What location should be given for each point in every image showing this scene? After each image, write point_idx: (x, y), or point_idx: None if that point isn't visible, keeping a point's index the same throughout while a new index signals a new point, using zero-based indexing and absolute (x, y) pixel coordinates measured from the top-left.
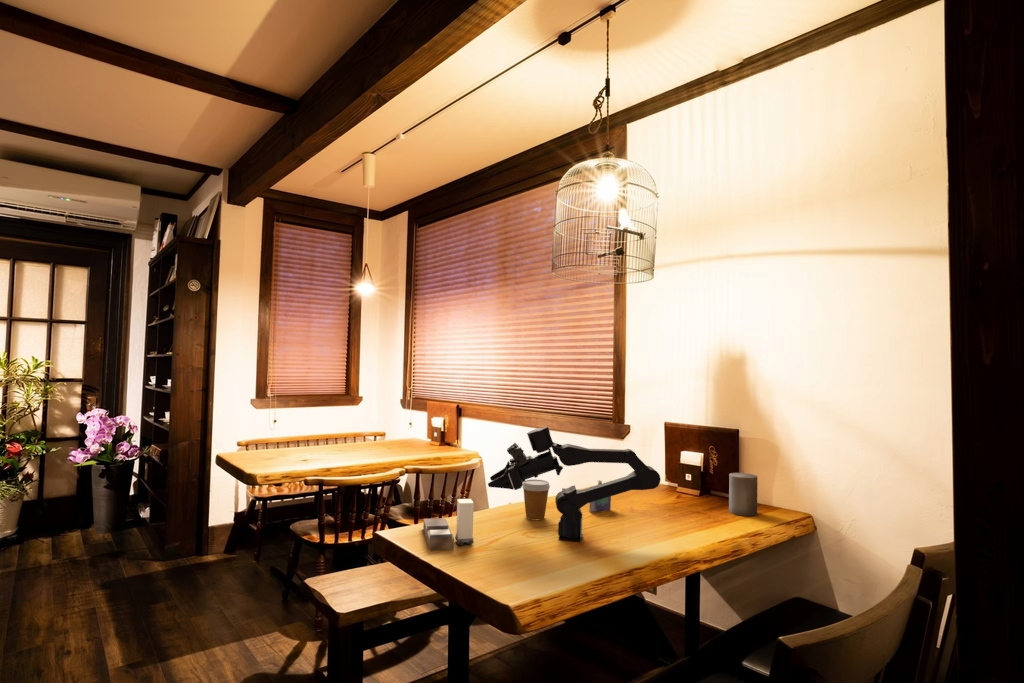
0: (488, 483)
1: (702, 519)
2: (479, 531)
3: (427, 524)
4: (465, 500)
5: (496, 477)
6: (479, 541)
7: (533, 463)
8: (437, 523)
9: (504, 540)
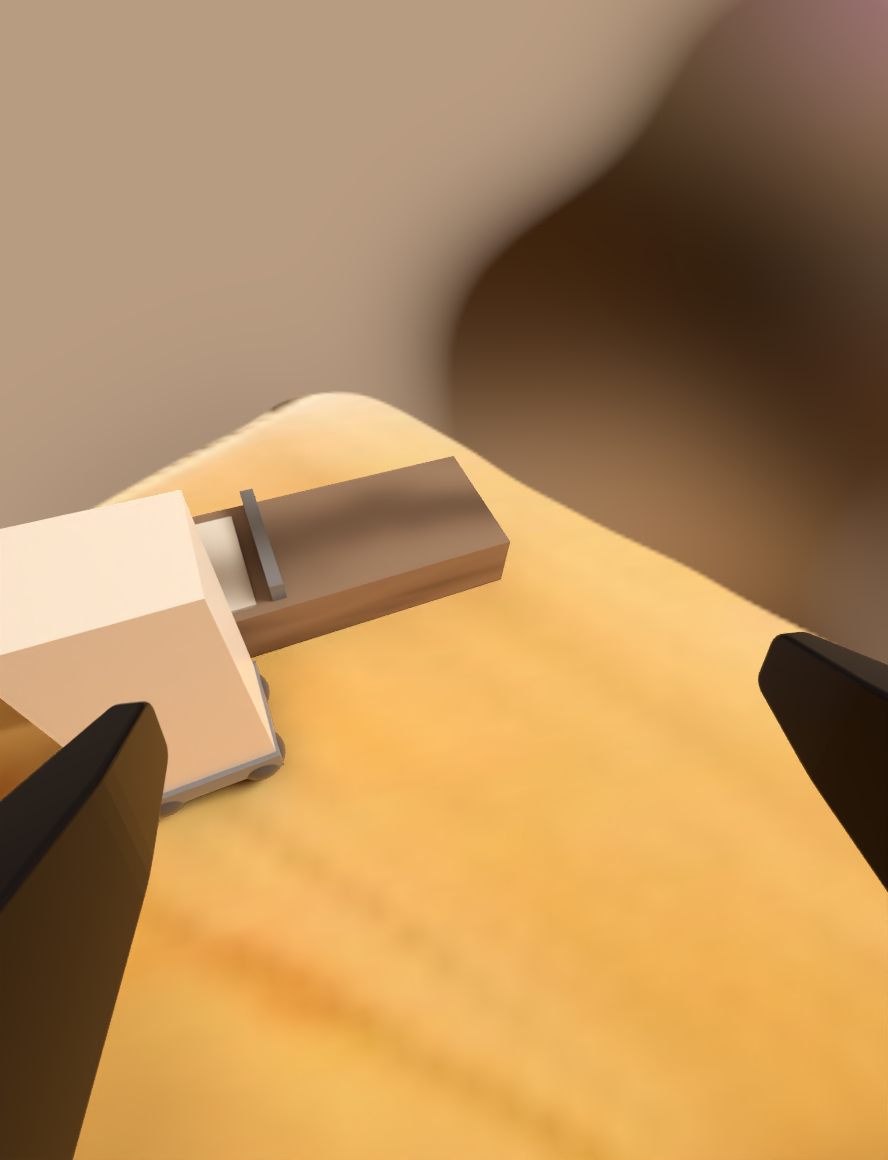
0: (109, 710)
1: None
2: (500, 794)
3: (351, 489)
4: (114, 562)
5: (860, 764)
6: (255, 852)
7: None
8: (382, 526)
9: (303, 1101)
